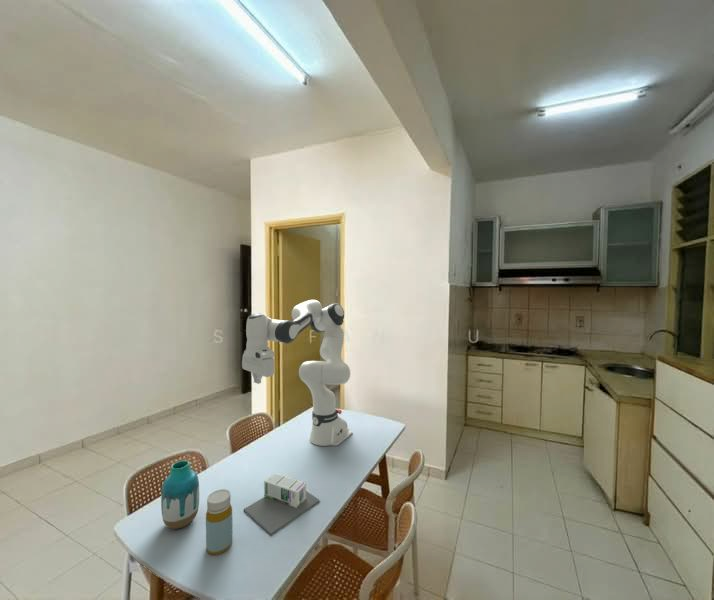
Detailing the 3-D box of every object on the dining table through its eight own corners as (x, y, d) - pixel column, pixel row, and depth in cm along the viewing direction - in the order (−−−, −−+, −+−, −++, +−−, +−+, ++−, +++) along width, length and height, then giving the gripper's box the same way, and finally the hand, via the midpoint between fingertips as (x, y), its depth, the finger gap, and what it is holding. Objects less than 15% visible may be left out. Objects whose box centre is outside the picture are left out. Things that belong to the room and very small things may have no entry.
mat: (291, 482, 120) (291, 481, 120) (319, 501, 110) (319, 500, 110) (243, 510, 105) (243, 508, 105) (270, 535, 95) (270, 533, 95)
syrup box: (263, 480, 111) (297, 492, 105) (274, 472, 117) (307, 482, 110) (263, 496, 111) (296, 509, 105) (274, 487, 117) (306, 498, 111)
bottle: (202, 545, 91) (202, 495, 90) (226, 532, 96) (226, 485, 95) (211, 560, 86) (210, 508, 85) (236, 546, 91) (235, 496, 90)
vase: (156, 539, 93) (155, 477, 92) (167, 514, 103) (166, 458, 102) (195, 531, 96) (194, 471, 95) (202, 508, 106) (201, 453, 105)
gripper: (238, 349, 138) (238, 379, 139) (263, 355, 125) (263, 389, 126) (251, 347, 143) (251, 376, 144) (277, 353, 130) (277, 386, 130)
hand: (257, 382), depth 134 cm, fingers closed
